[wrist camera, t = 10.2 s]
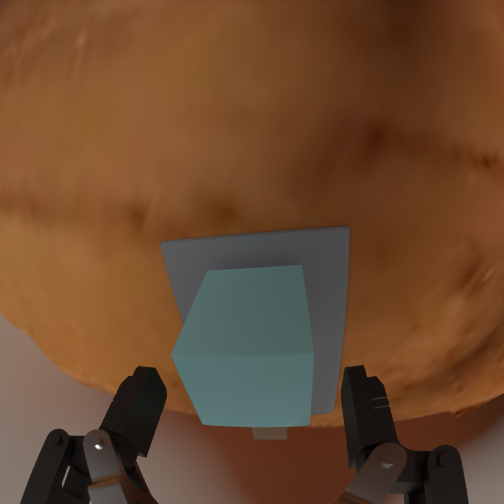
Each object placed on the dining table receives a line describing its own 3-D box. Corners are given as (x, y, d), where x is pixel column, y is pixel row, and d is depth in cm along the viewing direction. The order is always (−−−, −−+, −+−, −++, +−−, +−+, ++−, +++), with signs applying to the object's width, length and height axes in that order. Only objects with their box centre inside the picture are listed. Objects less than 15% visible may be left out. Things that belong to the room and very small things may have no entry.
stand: (162, 241, 17) (101, 313, 10) (348, 225, 15) (392, 300, 9) (217, 412, 24) (204, 477, 18) (332, 409, 23) (339, 476, 16)
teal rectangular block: (207, 270, 16) (170, 354, 10) (301, 264, 15) (313, 353, 9) (223, 339, 18) (203, 424, 12) (303, 336, 17) (309, 425, 11)
